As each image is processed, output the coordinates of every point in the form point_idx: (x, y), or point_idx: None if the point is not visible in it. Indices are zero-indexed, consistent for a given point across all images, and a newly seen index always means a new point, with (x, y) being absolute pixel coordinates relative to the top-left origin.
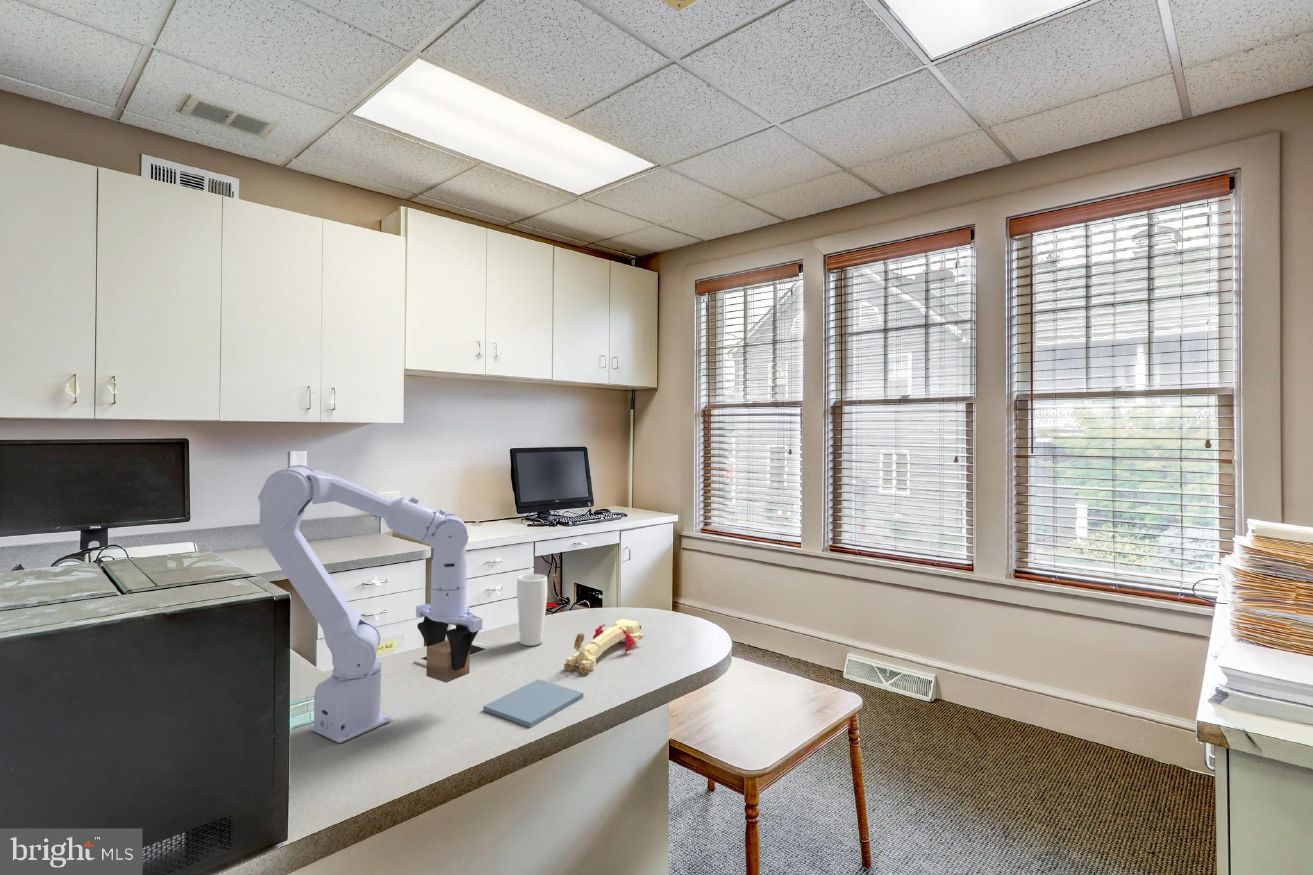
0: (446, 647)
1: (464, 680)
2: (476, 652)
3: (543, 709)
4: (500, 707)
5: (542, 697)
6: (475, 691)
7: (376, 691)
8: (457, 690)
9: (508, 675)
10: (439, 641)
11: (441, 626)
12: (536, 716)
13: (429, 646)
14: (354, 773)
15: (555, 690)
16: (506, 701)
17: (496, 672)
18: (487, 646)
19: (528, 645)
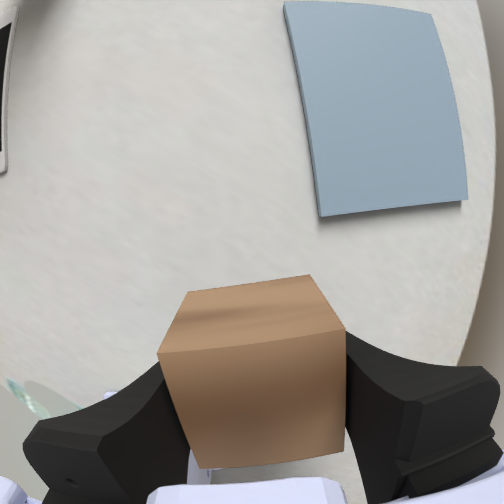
0: (276, 429)
1: (100, 137)
2: (6, 46)
3: (444, 129)
4: (364, 190)
5: (393, 76)
6: (188, 153)
7: (189, 469)
8: (143, 189)
9: (168, 28)
10: (172, 418)
11: (148, 471)
12: (458, 168)
13: (199, 461)
14: (326, 472)
15: (380, 28)
16: (346, 152)
17: (124, 44)
18: (5, 16)
19: None
